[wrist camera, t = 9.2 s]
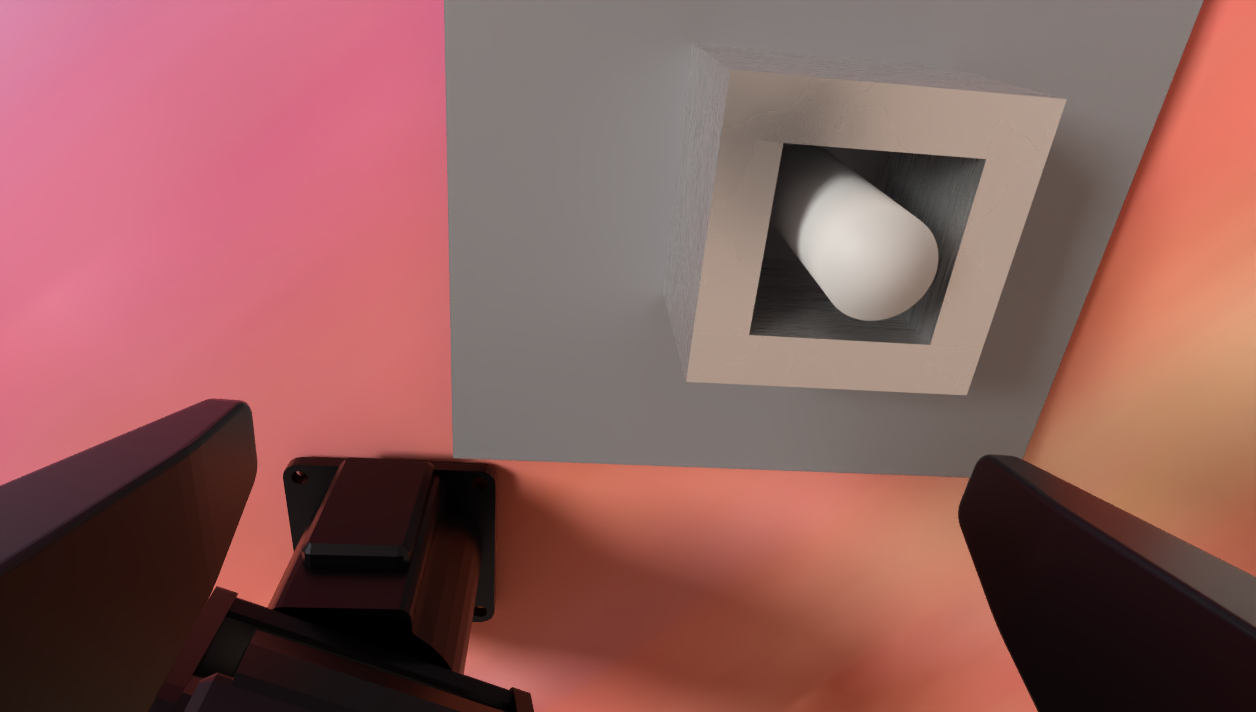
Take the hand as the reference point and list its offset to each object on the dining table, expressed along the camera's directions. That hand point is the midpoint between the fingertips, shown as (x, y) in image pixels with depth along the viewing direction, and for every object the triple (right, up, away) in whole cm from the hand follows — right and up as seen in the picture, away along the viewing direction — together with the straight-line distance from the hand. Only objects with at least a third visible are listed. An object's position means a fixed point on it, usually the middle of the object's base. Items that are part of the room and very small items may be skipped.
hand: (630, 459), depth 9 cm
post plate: (+4, +6, +11) cm, 14 cm away
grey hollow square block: (+4, +6, +10) cm, 13 cm away
